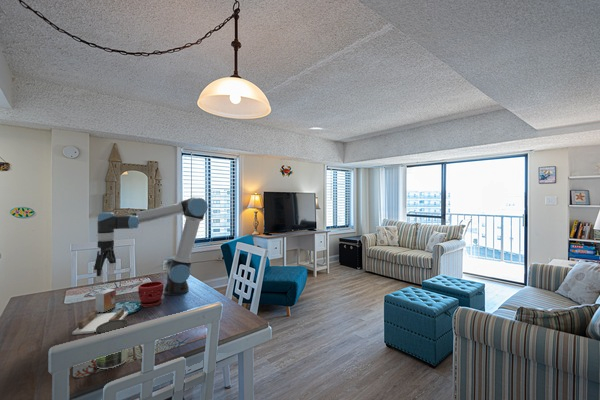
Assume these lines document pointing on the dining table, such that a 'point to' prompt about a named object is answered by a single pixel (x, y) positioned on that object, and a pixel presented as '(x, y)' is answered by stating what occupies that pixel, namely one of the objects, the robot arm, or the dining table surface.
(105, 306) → the small box
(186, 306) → the dining table surface
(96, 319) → the holder
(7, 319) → the dining table surface
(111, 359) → the coffee can
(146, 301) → the plant pot
